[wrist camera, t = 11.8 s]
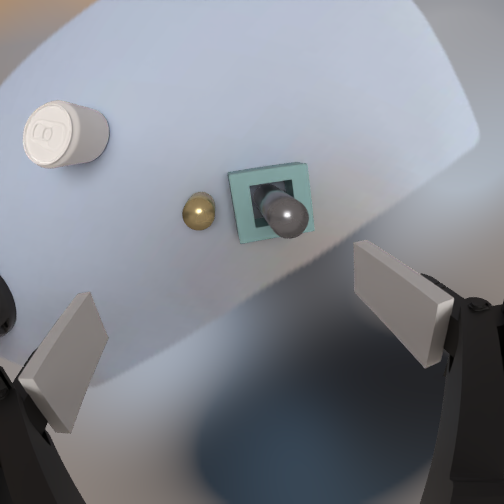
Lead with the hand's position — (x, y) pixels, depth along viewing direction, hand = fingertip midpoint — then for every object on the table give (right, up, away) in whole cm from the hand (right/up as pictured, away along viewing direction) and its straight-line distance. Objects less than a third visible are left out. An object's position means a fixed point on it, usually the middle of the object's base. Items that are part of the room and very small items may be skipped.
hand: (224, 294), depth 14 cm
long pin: (+3, +10, +29) cm, 31 cm away
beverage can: (-23, +19, +23) cm, 38 cm away
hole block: (+3, +10, +29) cm, 31 cm away
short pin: (-6, +8, +29) cm, 30 cm away
